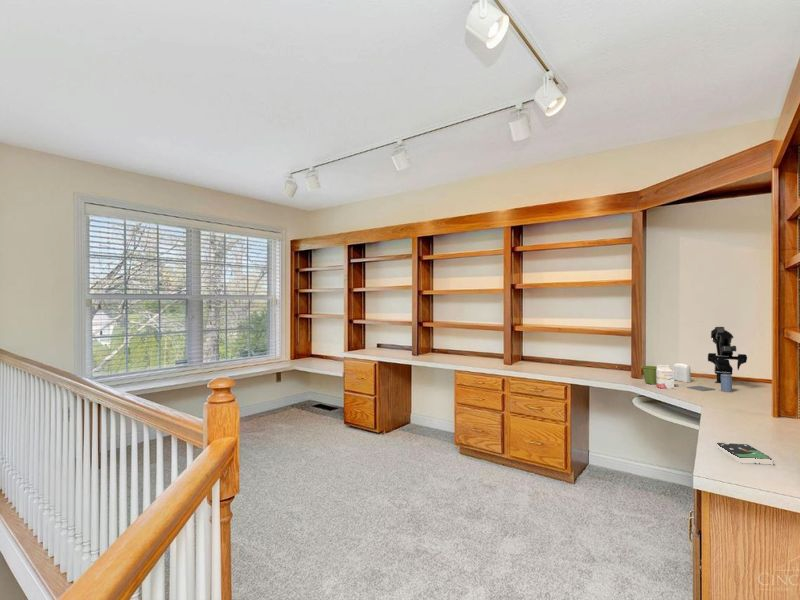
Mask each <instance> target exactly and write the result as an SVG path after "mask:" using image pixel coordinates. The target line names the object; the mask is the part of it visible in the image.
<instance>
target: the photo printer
mask: <svg viewBox="0 0 800 600" xmlns="http://www.w3.org/2000/svg"><path fill="white" fill-rule="evenodd" d="M673 371H674V381H677V382H683V383H687V382H690V383H691V380H692V379H691V376H692V375H691V371H692V370H691V366H690V365H689V364H685V363H683V362H682V363H681V362H679V363H677V362H676V363H674V365H673Z"/></svg>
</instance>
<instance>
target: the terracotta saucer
mask: <svg viewBox="0 0 800 600" xmlns="http://www.w3.org/2000/svg"><path fill="white" fill-rule="evenodd" d="M718 392H720V393H723V392H722V391H721V389H720V390H718ZM724 393H727V394H728V393H729V394H733V393H735V391H733V390H732V392H724Z"/></svg>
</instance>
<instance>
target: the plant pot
mask: <svg viewBox="0 0 800 600" xmlns="http://www.w3.org/2000/svg"><path fill="white" fill-rule="evenodd" d="M640 367H641V370H642V372H643V378H644V381H645V384H649V385H657V379H656V369H657V365H641V366H640Z"/></svg>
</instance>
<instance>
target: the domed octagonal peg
mask: <svg viewBox="0 0 800 600" xmlns="http://www.w3.org/2000/svg"><path fill="white" fill-rule="evenodd" d="M720 390H721V391H722V392H721V393H725V392H732V391H733V379H732V374H731V375H729V374H721V383H720Z"/></svg>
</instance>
